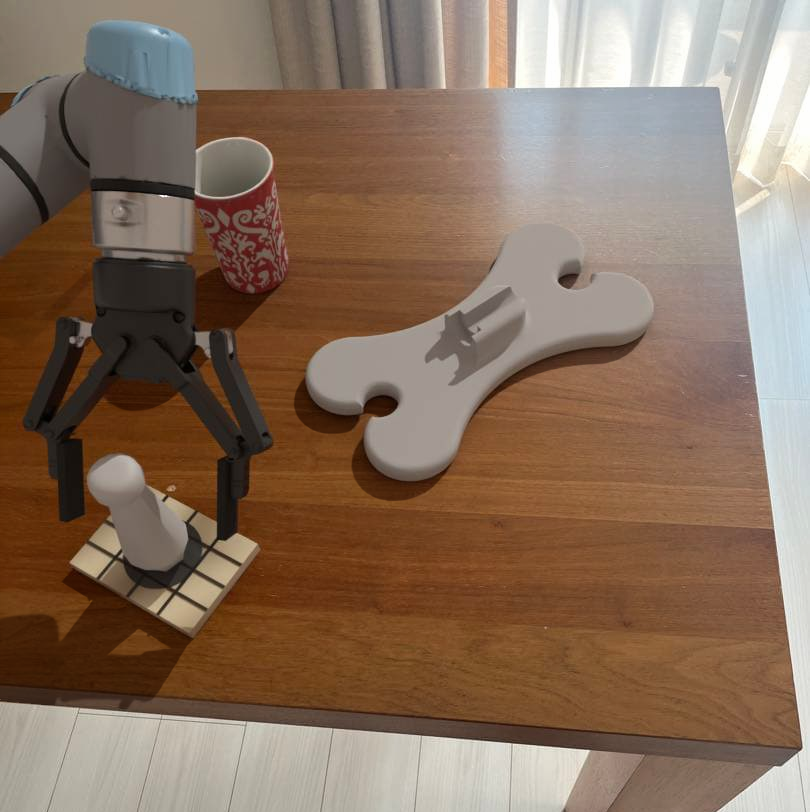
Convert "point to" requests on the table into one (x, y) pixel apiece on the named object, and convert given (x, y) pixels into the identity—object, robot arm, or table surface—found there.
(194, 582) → the grid board
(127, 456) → the white pawn
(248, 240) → the mug
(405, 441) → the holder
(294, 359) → the table surface
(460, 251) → the table surface
